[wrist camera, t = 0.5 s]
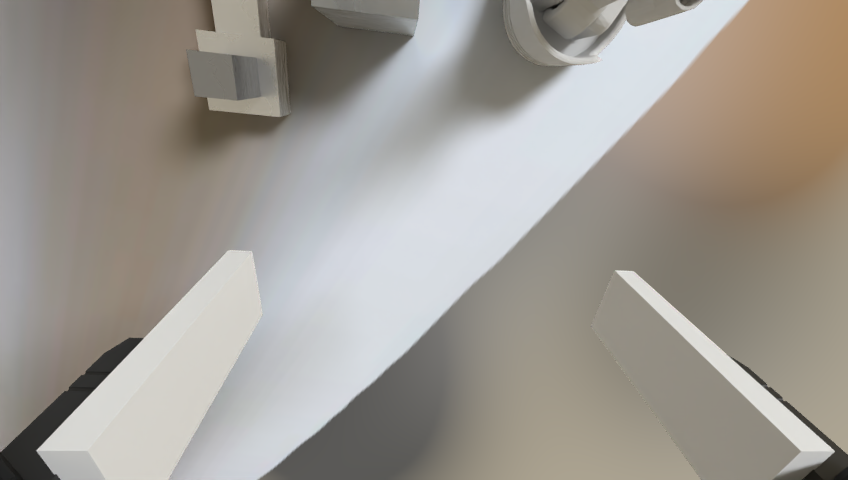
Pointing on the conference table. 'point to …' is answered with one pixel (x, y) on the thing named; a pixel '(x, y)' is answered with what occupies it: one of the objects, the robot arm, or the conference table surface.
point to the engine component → (577, 26)
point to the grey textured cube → (372, 14)
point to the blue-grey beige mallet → (241, 61)
